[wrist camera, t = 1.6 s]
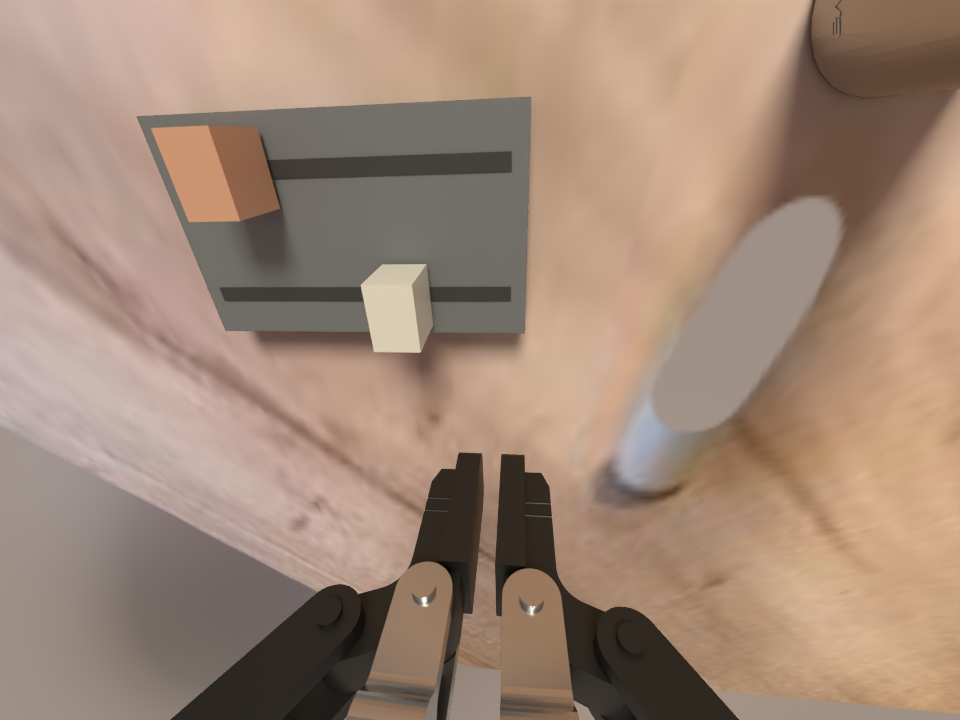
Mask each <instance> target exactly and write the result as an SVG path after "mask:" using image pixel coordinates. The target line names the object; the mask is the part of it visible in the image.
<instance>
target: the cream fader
mask: <svg viewBox="0 0 960 720" xmlns="http://www.w3.org/2000/svg"><path fill="white" fill-rule="evenodd" d="M361 290H362V295H363V300H364V304H365V309H366V314H367V319H368V324H369V329H370V334H371V339H372V344H373V349H374V352H408V353H421V351H422V349H423V347H424V344H425V342H426V340H427V338H428V336H429V333H430V331H431V329H432V327H433V318H432V309H431V300H430V290H429V281H428V272H427V264H382V265H381V266H380V267H379V268H378V269H377V270H376V271H375V272H374V273H373V274H372V275H371V276H370V277H368V278H367V279H366V280H365V281H364V282H363V283H362V284H361Z"/></svg>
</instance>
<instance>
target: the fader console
mask: <svg viewBox="0 0 960 720" xmlns="http://www.w3.org/2000/svg"><path fill="white" fill-rule="evenodd" d="M530 118H531V97H518V98H497V99H477V100H457V101H437V102H417V103H396V104H376V105H356V106H336V107H316V108H295V109H275V110H255V111H235V112H215V113H195V114H174V115H154V116H137V119H138V121H139V124H140V126H141V128H142V131H143V133H144V136H145V138H146V140H147V143H148V145H149V148H150V150H151V152H152V155H153V157H154V160H155V162H156V164H157V167H158V169H159V172H160V174H161V177H162V179H163V181H164V184H165V186H166V189H167V191H168V193H169V196H170V198H171V201H172V203H173V205H174V208H175V210H176V213H177V215H178V217H179V220H180V222H181V225H182V227H183V229H184V232H185V234H186V237H187V239H188V242H189V244H190V246H191V249H192V251H193V254H194V256H195V258H196V261H197V263H198V266H199V268H200V270H201V273H202V275H203V278H204V280H205V282H206V285H207V287H208V290H209V292H210V295H211V297H212V299H213V302H214V304H215V307H216V309H217V311H218V314H219V316H220V319H221V321H222V323H223V326H224V328H225V331H304V332H370V329H369V324H368V319H367V314H366V309H365V304H364V300H363V295H362V290H361V284H362V283H363V282H364V281H365V280H366V279H367V278H368V277H370V276H371V275H372V274H373V273H374V272H375V271H376V270H377V269H378V268H379V267H380V266H381V265H382V264H427V272H428V281H429V290H430V300H431V309H432V318H433V327H432V329H431V331H430V333H525V300H526V264H527V227H528V191H529V154H530ZM206 125H211V126H247V127H257V129H258V132H259V136H260V139H261V143H262V146H263V150H264V153H265V157H266V160H267V164H268V168H269V171H270V175H271V178H272V182H273V185H274V189H275V192H276V196H277V199H278V203H279V206H280V209H278V210H274V211H271V212H268V213H265V214H262V215H258V216H255V217H252V218H249V219H246V220H242V221H224V222H189V221H188V219H187V216H186V214H185V211H184V209H183V207H182V204H181V202H180V199H179V197H178V194H177V192H176V189H175V187H174V184H173V182H172V179H171V177H170V174H169V172H168V169H167V167H166V165H165V162H164V160H163V157H162V155H161V152H160V150H159V147H158V145H157V142H156V140H155V137H154V135H153V132H152V130H151V128H162V127H184V126H206Z"/></svg>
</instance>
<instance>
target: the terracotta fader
mask: <svg viewBox="0 0 960 720" xmlns="http://www.w3.org/2000/svg"><path fill="white" fill-rule="evenodd" d="M151 130H152V132H153V135H154V137H155V140H156V142H157V145H158V147H159V150H160V152H161V155H162V157H163V160H164V162H165V165H166V167H167V169H168V172H169V174H170V177H171V179H172V182H173V184H174V187H175V189H176V192H177V194H178V197H179V199H180V202H181V204H182V207H183V209H184V211H185V214H186V216H187V219H188V221H189V222H224V221H242V220H246V219H249V218H252V217H255V216H258V215H262V214H265V213H268V212H271V211H274V210H278V209H280V206H279V203H278V199H277V196H276V192H275V189H274V185H273V182H272V178H271V175H270V171H269V168H268V164H267V160H266V157H265V153H264V150H263V146H262V143H261V139H260V136H259V132H258V129H257V127H247V126H211V125H206V126H184V127H162V128H151Z"/></svg>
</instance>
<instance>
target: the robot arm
mask: <svg viewBox="0 0 960 720" xmlns="http://www.w3.org/2000/svg"><path fill="white" fill-rule="evenodd" d="M811 42H812V48H813V54H814V59H815V61H816V63H817V65H818V67H819V70H820V72H821V74H822V75H823V76H824V77H825V78H826V80H827V81H828V82H829V83H830V84H831V85H832V86H833V87H835V88H837V89H839V90H841V91H842V92H844V93H846V94H850V95H855V96H860V97H878V96H890V95H900V94H910V93H919V92H929V91H942V90H952V89H960V0H816V1H815V6H814V10H813V15H812V28H811ZM483 497H484V483H483V460H482V453H459V454H458V459H457V464H456V469H441V470H440V472H439V473H438V474H437V476H436V477H435V478H434V479H433V481H432V483H431V487H430V491H429V495H428V499H427V503H426V507H425V512H424V515H423V519H422V523H421V527H420V531H419V535H418V539H417V543H416V547H415V551H414V554H413V558H412V561H411V564H410V566H409V567H408V569H407V570H406V571H405V572H404V573H403V575H402V576H401V577H400V578H399V579H398V580H396V581H395V582H394V583H392V584H390V585H388V586H386V587H383V588H379V589H376V590H372V591H368V592H365V593H361V594H357V592H356V591H355V590H354V589H353V588H351V587H350V586H347V585H341V584H338V585H332V586H329V587H326V588H324V589H322V590H321V591H319V592H318V593H317V594H315V595H314V596H313V597H312V598H311V599H309V600H308V601H307V602H306V603H305V604H304V605H302V607H300V608H299V609H298V610H297V611H295V612H294V613H293V614H292V615H291V616H290V617H289V618H287V619H286V620H285V621H284V622H283V623H282V624H280V625H279V626H278V627H277V628H276V629H275V630H274V631H272V632H271V633H270V634H269V635H268V636H267V637H265V639H263V640H262V641H261V642H260V643H259V644H257V645H256V646H255V647H254V648H253V649H252V650H251V651H249V652H248V653H247V654H246V655H245V656H244V657H242V658H241V659H240V660H239V661H238V662H237V663H235V664H234V665H233V666H232V667H231V668H230V669H229V670H227V671H226V672H225V673H224V674H223V675H222V676H221V677H219V678H218V679H217V680H216V681H215V682H213V683H212V684H211V685H210V686H209V687H208V688H207V689H205V690H204V691H203V692H202V693H201V694H200V695H198V696H197V697H196V698H195V699H194V700H193V701H192V702H190V703H189V704H188V705H187V706H186V707H185V708H183V709H182V710H181V711H180V712H179V713H178V714H177V715H175V716H174V717H173V718H172V719H171V720H344V719H345V718H346V717H347V718H346V720H449V717H450V710H451V703H452V695H453V688H454V681H455V674H456V667H457V660H458V653H459V644H460V637H461V629H462V621H463V613H467V614H472V612H473V602H474V591H475V581H476V571H477V561H478V551H479V541H480V531H481V521H482V511H483ZM495 574H496V615H497V616H502V641H501V706H500V720H579V716H578V713H577V710H576V708H575V705H574V701H576V702H578V703H580V704H582V705H584V706H586V707H588V708H589V710H590V712H591V714H592V715H593V717H594V718H595V720H739V719H738V718H737V717H736V716H735V715H734V714H733V712H732V711H731V710H730V709H729V708H728V707H727V706H726V705H725V704H724V702H723V701H722V700H721V699H720V698H719V697H718V696H717V695H716V693H715V692H714V691H713V690H712V689H711V688H710V687H709V686H708V684H707V683H706V682H705V681H704V680H703V679H702V678H701V677H700V676H699V674H698V673H697V672H696V671H695V670H694V669H693V668H692V667H691V665H690V664H689V663H688V662H687V661H686V660H685V659H684V658H683V656H682V655H681V654H680V653H679V652H678V651H677V650H676V649H675V648H674V646H673V645H672V644H671V643H670V642H669V641H668V640H667V639H666V637H665V636H664V635H663V634H662V633H661V632H660V631H659V630H658V629H657V627H656V626H655V625H654V624H653V623H652V622H651V621H650V620H649V619H648V618H647V617H646V616H644V615H643V614H642V613H640V612H638V611H636V610H634V609H631V608H627V607H614V608H611V609H609V610H607V611H606V612H604V611H602V610H599V609H597V608H595V607H592V606H590V605H588V604H585V603H583V602H581V601H579V600H578V599H576V598H575V597H573V596H572V595H571V594H570V593H569V592H568V591H567V590H566V589H565V588H564V586H563V585H562V583H561V581H560V579H559V577H558V574H557V570H556V561H555V549H554V537H553V525H552V513H551V502H550V490H549V486H548V484H547V482H546V480H545V479H544V477H543V475H542V474H541V473H527V472H525V461H524V455H510V454H502V456H501V472H500V490H499V507H498V525H497V542H496V560H495Z"/></svg>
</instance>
